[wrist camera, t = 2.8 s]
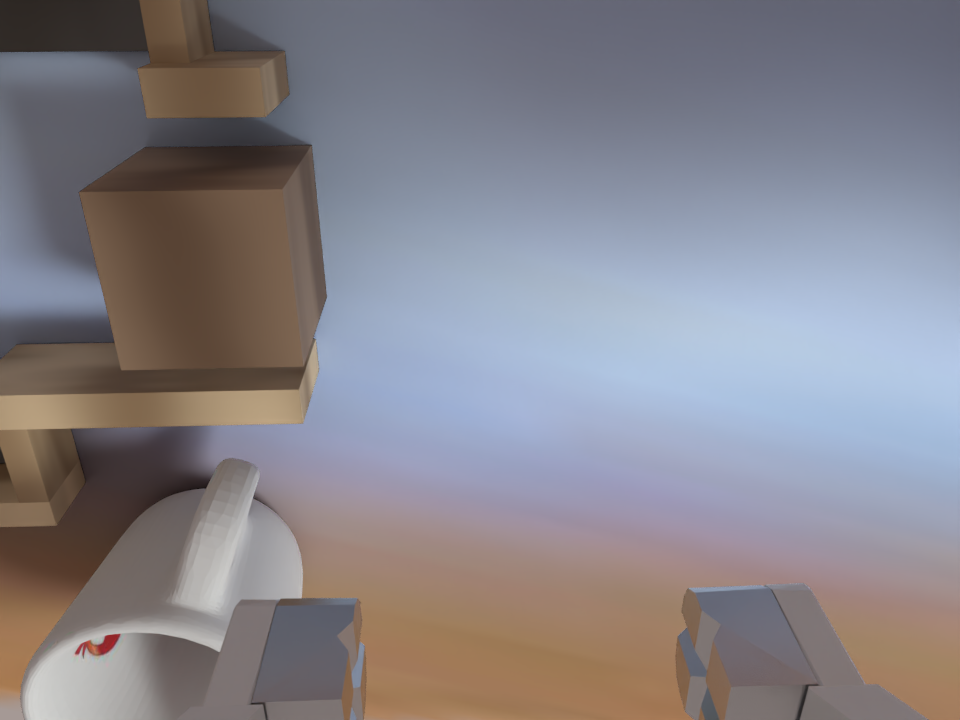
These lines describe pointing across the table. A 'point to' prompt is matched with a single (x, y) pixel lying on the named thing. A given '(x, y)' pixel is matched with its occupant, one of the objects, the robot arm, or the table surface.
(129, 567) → the cup
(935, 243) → the table surface
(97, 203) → the block
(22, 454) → the wooden flat frame
